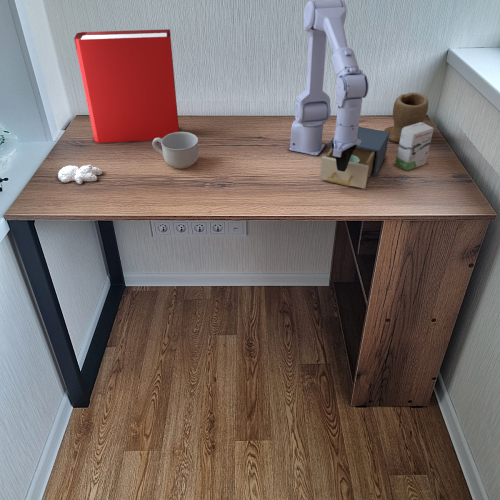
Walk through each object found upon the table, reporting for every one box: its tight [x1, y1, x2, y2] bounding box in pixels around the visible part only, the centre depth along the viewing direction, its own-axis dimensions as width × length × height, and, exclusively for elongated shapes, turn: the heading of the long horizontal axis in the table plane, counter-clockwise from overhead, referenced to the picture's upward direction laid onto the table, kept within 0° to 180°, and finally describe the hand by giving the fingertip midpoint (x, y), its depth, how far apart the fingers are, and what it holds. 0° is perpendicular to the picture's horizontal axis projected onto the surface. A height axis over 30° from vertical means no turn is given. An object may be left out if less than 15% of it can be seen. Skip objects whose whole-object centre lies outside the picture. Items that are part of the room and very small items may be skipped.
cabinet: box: [329, 126, 390, 177], centre depth 152 cm, size 13×14×8 cm
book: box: [73, 28, 180, 144], centre depth 159 cm, size 27×8×32 cm, turn 97°
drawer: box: [319, 148, 376, 190], centre depth 143 cm, size 17×13×7 cm
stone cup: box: [383, 91, 429, 143], centre depth 162 cm, size 15×12×15 cm
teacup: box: [151, 131, 199, 170], centre depth 151 cm, size 14×11×8 cm
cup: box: [349, 155, 360, 163], centre depth 144 cm, size 6×6×4 cm
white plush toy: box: [57, 164, 103, 185], centre depth 146 cm, size 9×12×3 cm
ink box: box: [394, 122, 435, 172], centre depth 149 cm, size 9×5×12 cm, turn 123°
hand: (341, 169), depth 137 cm, fingers closed
